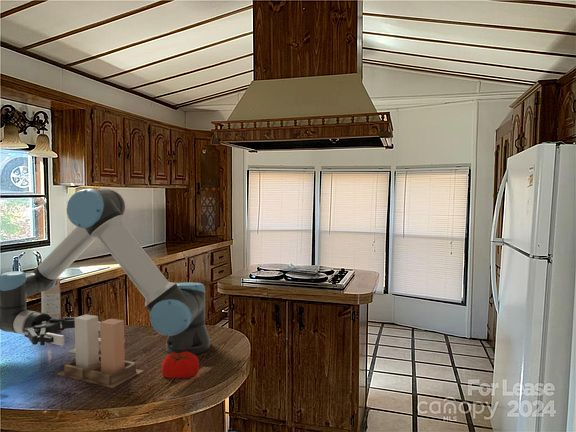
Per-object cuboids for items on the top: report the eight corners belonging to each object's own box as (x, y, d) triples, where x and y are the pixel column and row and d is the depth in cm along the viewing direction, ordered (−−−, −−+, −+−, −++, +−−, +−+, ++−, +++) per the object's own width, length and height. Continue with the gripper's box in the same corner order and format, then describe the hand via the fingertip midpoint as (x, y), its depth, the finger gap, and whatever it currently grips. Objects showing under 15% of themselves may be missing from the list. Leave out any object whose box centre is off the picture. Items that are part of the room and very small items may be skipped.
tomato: (160, 372, 128) (160, 351, 127) (196, 367, 132) (196, 347, 131) (162, 386, 119) (162, 364, 118) (201, 380, 123) (201, 358, 122)
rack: (55, 378, 123) (55, 365, 123) (89, 363, 134) (89, 351, 134) (112, 393, 114) (112, 379, 114) (143, 375, 125) (143, 362, 125)
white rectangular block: (86, 365, 129) (85, 314, 128) (99, 368, 127) (98, 316, 126) (75, 370, 125) (74, 317, 124) (88, 373, 123) (87, 320, 122)
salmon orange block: (111, 371, 125) (110, 318, 124) (124, 373, 123) (124, 320, 122) (101, 376, 121) (100, 322, 120) (114, 379, 119) (113, 324, 118)
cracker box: (62, 331, 164) (60, 278, 163) (44, 334, 160) (42, 280, 159) (58, 321, 175) (56, 272, 174) (41, 324, 172) (40, 274, 171)
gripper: (68, 324, 145) (114, 332, 137) (-6, 349, 122) (45, 360, 114) (67, 302, 145) (114, 310, 137) (-7, 323, 122) (44, 334, 114)
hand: (83, 333), depth 126 cm, fingers open, 13 cm apart
